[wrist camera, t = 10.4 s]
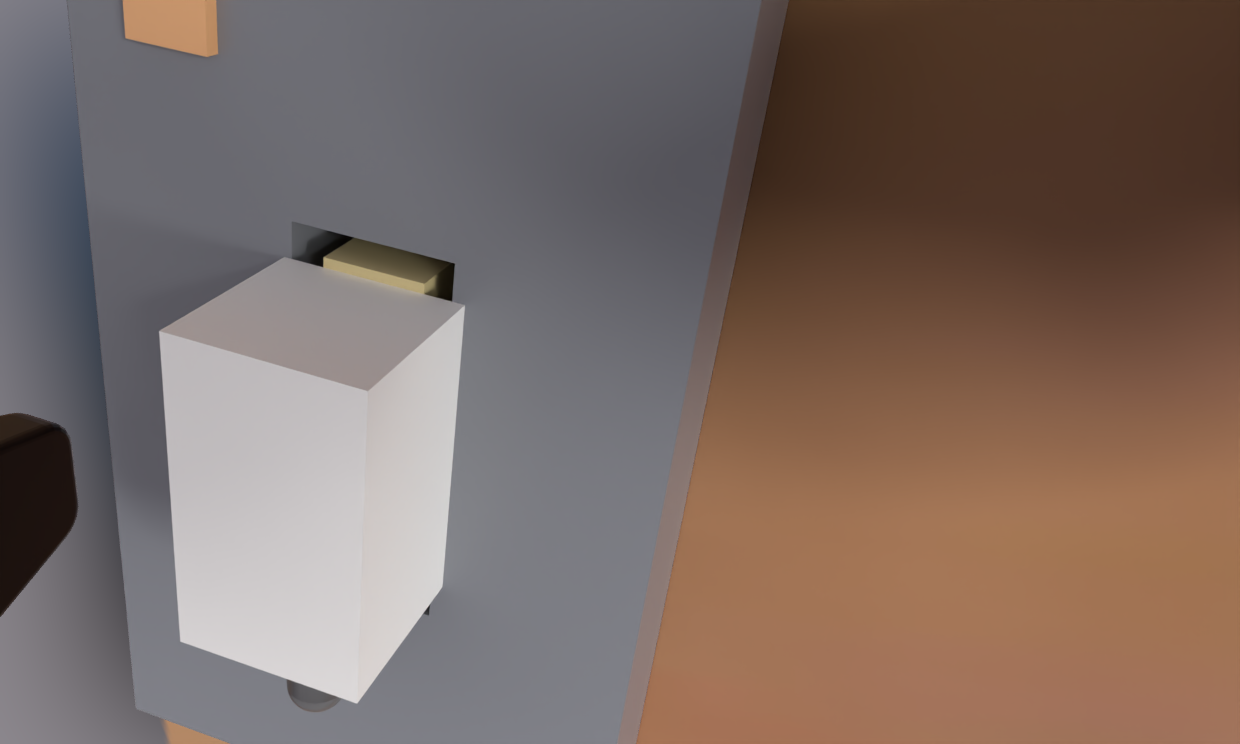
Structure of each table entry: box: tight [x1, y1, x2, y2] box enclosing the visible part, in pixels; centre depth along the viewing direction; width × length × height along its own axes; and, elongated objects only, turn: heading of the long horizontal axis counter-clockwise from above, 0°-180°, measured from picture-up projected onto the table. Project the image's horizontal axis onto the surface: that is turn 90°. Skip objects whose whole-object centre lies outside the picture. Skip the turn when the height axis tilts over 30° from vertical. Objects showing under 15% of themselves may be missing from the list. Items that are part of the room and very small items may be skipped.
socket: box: [67, 0, 789, 744], centre depth 22 cm, size 12×20×3 cm, turn 172°
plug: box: [159, 238, 465, 712], centre depth 21 cm, size 4×9×6 cm, turn 172°
